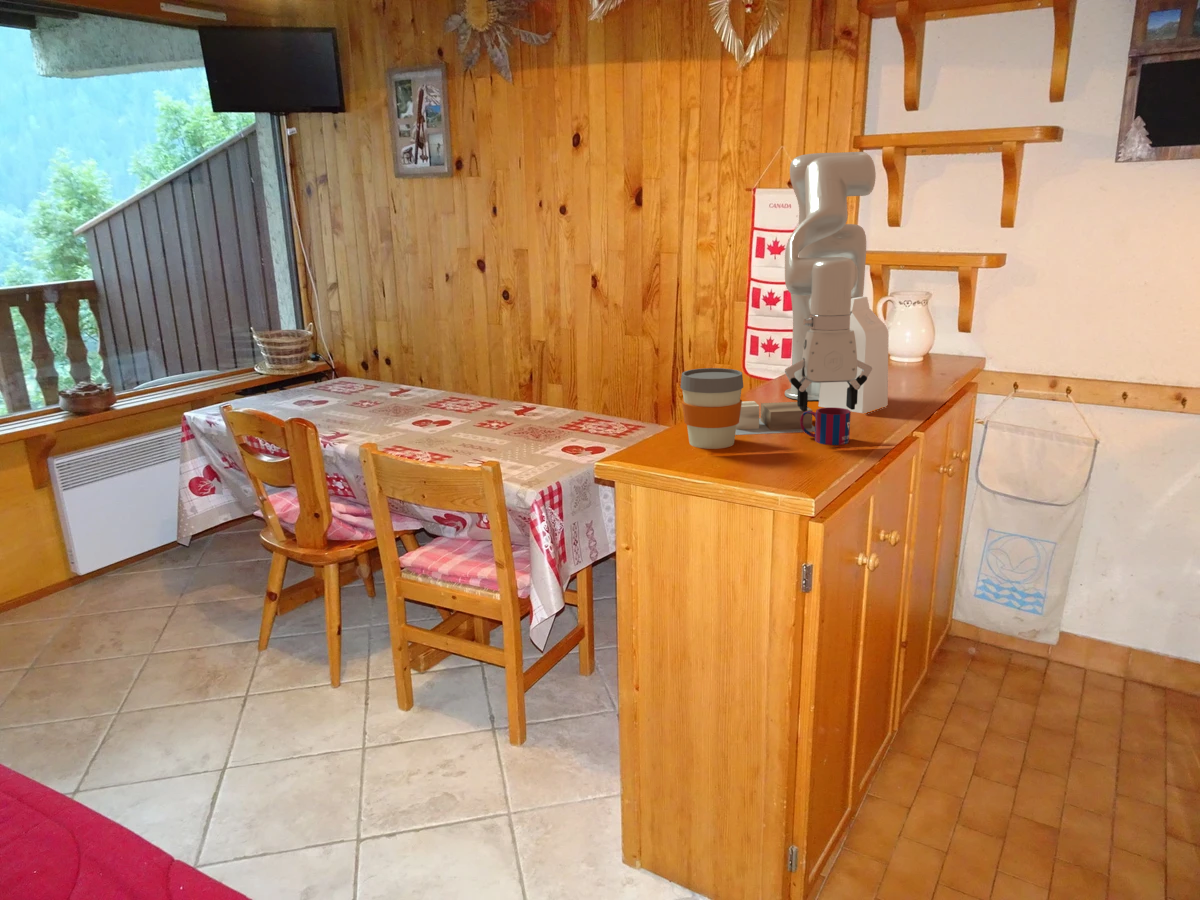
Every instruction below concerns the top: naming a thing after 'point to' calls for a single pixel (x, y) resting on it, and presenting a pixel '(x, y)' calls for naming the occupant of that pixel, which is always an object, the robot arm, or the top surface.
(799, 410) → the walnut slab
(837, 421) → the cup
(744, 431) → the board
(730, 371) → the reusable coffee cup
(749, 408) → the birch cube
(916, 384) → the top surface
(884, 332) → the milk
